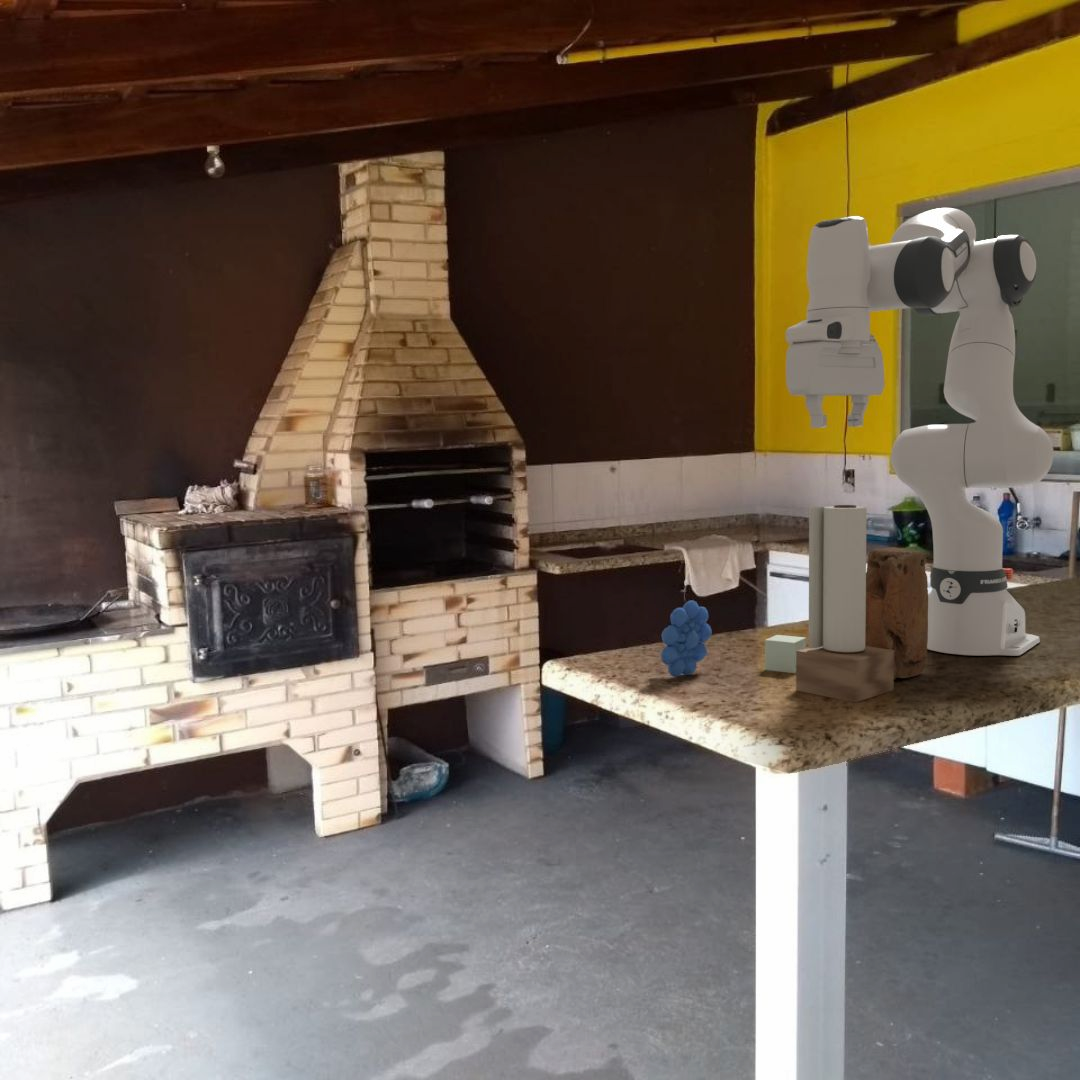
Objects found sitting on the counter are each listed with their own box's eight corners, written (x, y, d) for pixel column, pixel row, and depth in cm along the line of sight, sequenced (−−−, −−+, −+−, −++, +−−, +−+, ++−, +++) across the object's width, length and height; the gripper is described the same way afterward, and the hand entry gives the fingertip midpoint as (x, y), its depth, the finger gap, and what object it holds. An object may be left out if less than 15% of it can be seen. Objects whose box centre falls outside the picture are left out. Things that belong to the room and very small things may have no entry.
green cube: (776, 664, 174) (777, 634, 174) (806, 667, 172) (806, 637, 171) (765, 670, 170) (765, 639, 170) (794, 673, 167) (794, 642, 167)
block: (889, 666, 170) (890, 544, 168) (932, 674, 165) (934, 547, 163) (851, 678, 163) (852, 550, 161) (895, 686, 158) (897, 553, 156)
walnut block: (835, 679, 163) (835, 641, 162) (893, 690, 155) (893, 650, 154) (796, 690, 156) (796, 650, 156) (855, 702, 149) (855, 660, 148)
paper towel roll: (872, 648, 156) (873, 505, 154) (854, 655, 151) (855, 507, 149) (826, 643, 160) (827, 503, 159) (808, 649, 156) (809, 506, 154)
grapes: (688, 665, 174) (687, 594, 173) (721, 671, 170) (721, 598, 168) (642, 677, 166) (641, 603, 165) (675, 684, 162) (675, 607, 160)
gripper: (858, 335, 161) (857, 426, 163) (778, 330, 148) (778, 428, 149) (895, 332, 156) (894, 425, 158) (816, 326, 143) (815, 428, 145)
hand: (837, 427), depth 154 cm, fingers open, 8 cm apart
